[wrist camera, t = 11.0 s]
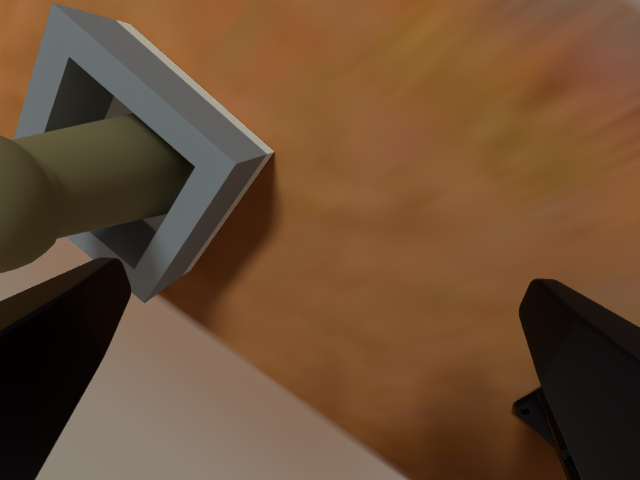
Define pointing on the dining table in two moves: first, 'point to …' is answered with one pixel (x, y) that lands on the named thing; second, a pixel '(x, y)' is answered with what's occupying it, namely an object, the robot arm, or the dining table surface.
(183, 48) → the dining table surface
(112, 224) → the cork
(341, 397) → the dining table surface
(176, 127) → the box
